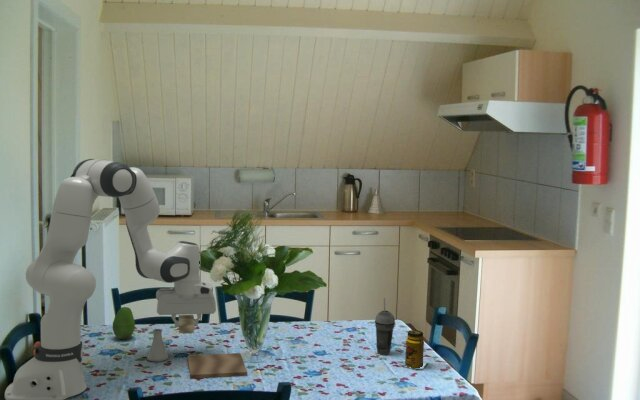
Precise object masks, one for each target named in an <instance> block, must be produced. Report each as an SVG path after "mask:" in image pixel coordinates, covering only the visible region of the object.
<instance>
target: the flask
mask: <svg viewBox="0 0 640 400" xmlns="http://www.w3.org/2000/svg"><path fill="white" fill-rule="evenodd" d="M152 333H153V337H152V343H151V345H150V348H149V349H150V350H149V352H148V355H147V358H146V361H150V362H164V361H165V360H168V358H169V354H168V352H167V350H166V347H165V344H164V342H163V336H162V333H163V329H162V328H155V329H152Z"/></svg>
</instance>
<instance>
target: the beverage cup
mask: <svg viewBox="0 0 640 400" xmlns="http://www.w3.org/2000/svg"><path fill="white" fill-rule="evenodd" d="M395 325H396V321H395V317H394V314H392V312H390V311H388V310H386V298H385V297H383V310H382V311H379V312H378V313H377V314H376V315H375V319H374V327H375V332H376V333H375V334H376V351H377V353H376V354H378V355H379V354H380V355H379V356H390V354H391V349H392V343H393V340H392V339H393V332H394V328H395Z"/></svg>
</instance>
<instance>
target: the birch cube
mask: <svg viewBox="0 0 640 400" xmlns="http://www.w3.org/2000/svg"><path fill="white" fill-rule="evenodd" d="M194 317H195V315H194V314H180V315H178V321H179V327H178V333H179V334H192V333H193V334H194V331H195V326H194V320H195V318H194Z"/></svg>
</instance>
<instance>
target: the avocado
mask: <svg viewBox="0 0 640 400" xmlns="http://www.w3.org/2000/svg"><path fill="white" fill-rule="evenodd" d="M135 323H136V321H135V318H134V315H133V312H132V310H131V308H130V307H127V306H124V307H121V308H119V309H118V311H117V312H116V314H115V317H114V318H113V322H112V331H113V334H114V336H115V337H116V338H117V339H119V340H127V339H129V338H131V337H132V335H133V334H134V331H135V327H136V324H135Z"/></svg>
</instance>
